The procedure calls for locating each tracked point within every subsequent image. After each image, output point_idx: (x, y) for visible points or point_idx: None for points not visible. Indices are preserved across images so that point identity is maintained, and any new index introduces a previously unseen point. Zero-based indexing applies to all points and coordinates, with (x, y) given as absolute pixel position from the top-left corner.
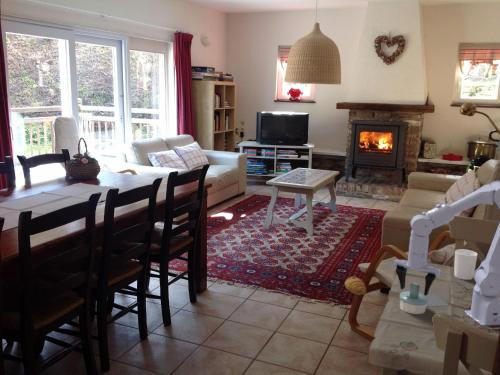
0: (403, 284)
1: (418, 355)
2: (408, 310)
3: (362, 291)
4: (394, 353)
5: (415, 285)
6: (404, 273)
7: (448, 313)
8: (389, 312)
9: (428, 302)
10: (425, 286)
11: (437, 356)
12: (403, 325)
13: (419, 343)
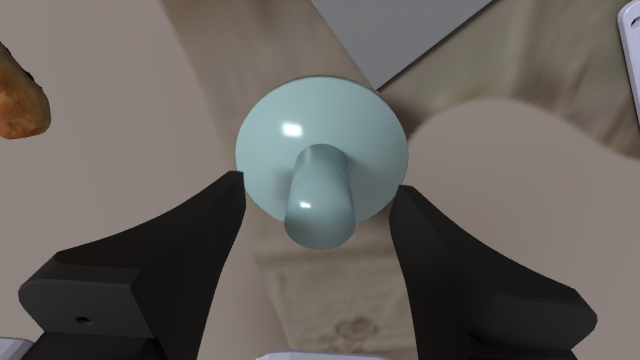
0: (234, 218)
1: (383, 346)
2: None
3: (34, 127)
4: None
5: (325, 238)
6: (194, 290)
7: (502, 83)
8: (248, 211)
9: (395, 4)
10: (408, 285)
11: None
12: (322, 264)
13: (381, 315)
